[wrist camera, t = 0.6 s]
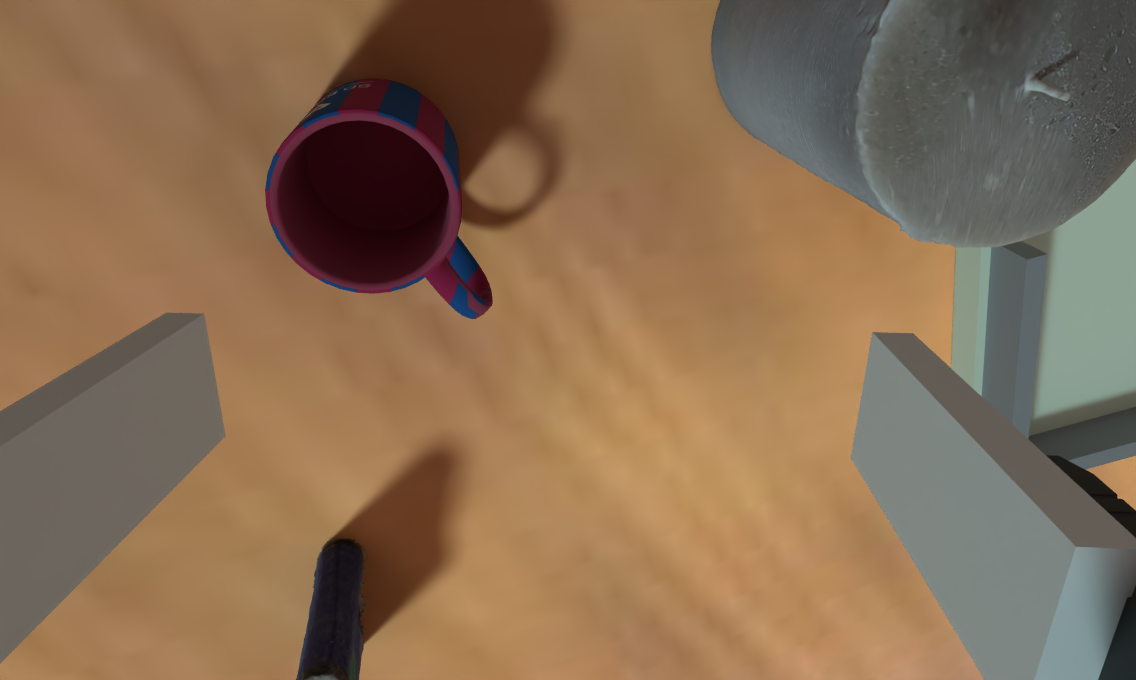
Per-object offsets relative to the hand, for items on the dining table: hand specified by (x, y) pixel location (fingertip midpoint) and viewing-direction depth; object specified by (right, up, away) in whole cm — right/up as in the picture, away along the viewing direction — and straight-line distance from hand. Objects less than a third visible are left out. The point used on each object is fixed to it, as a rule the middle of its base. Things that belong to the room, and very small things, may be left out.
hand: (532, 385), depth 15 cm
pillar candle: (+11, +14, +18) cm, 25 cm away
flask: (-12, -14, +29) cm, 34 cm away
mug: (-7, +8, +18) cm, 21 cm away
